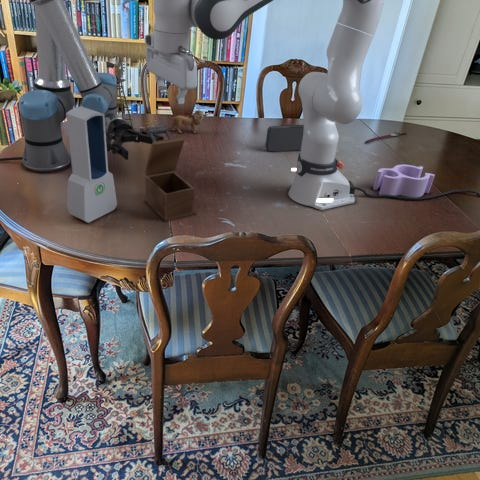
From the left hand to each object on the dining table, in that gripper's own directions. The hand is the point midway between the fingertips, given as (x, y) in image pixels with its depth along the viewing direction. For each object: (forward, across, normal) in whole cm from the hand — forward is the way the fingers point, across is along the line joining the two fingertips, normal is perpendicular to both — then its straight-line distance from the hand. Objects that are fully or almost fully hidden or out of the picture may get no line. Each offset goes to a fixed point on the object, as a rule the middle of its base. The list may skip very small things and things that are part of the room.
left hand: (147, 152), depth 146 cm
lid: (+13, +1, +3) cm, 13 cm away
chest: (+16, 0, -11) cm, 20 cm away
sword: (+5, -119, -7) cm, 120 cm away
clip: (+43, -79, -8) cm, 90 cm away
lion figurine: (-38, -39, -11) cm, 55 cm away
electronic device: (+8, +21, -12) cm, 26 cm away
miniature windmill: (-50, -14, -12) cm, 53 cm away
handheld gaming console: (-3, -68, -9) cm, 68 cm away
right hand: (+15, +2, +22) cm, 27 cm away
